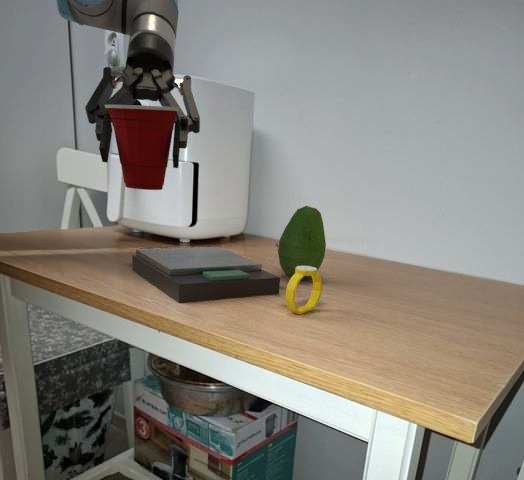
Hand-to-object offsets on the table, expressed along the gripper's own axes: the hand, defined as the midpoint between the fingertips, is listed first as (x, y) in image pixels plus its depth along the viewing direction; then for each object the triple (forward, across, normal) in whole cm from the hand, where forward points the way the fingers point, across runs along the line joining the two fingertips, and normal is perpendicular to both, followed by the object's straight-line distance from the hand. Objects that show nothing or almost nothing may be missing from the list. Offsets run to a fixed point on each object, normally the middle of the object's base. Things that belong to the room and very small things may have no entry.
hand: (139, 158), depth 72 cm
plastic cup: (+1, 0, -5) cm, 5 cm away
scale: (+15, -10, -9) cm, 20 cm away
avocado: (+11, -26, -14) cm, 31 cm away
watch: (+24, -23, 0) cm, 34 cm away
